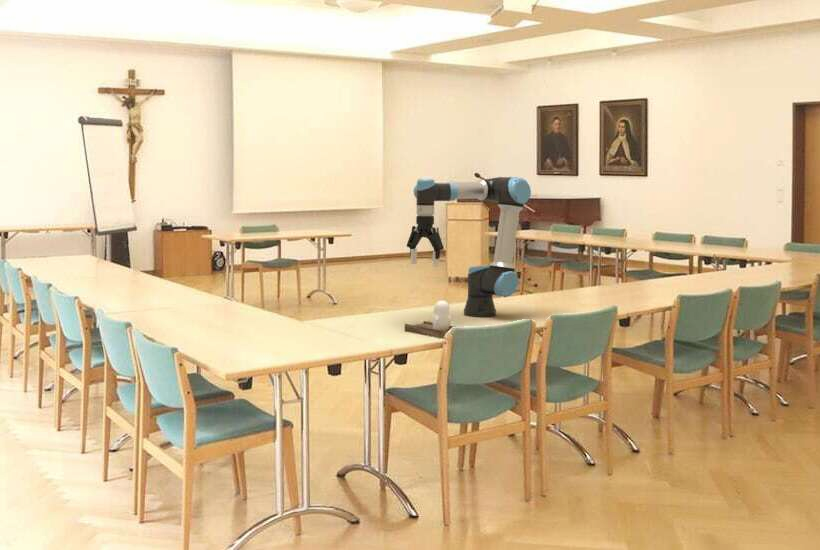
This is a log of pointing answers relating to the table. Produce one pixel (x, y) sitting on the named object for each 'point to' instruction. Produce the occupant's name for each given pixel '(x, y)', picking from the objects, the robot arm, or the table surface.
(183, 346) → the table surface
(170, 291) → the table surface
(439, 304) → the figurine
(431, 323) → the flange rail
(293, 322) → the table surface
